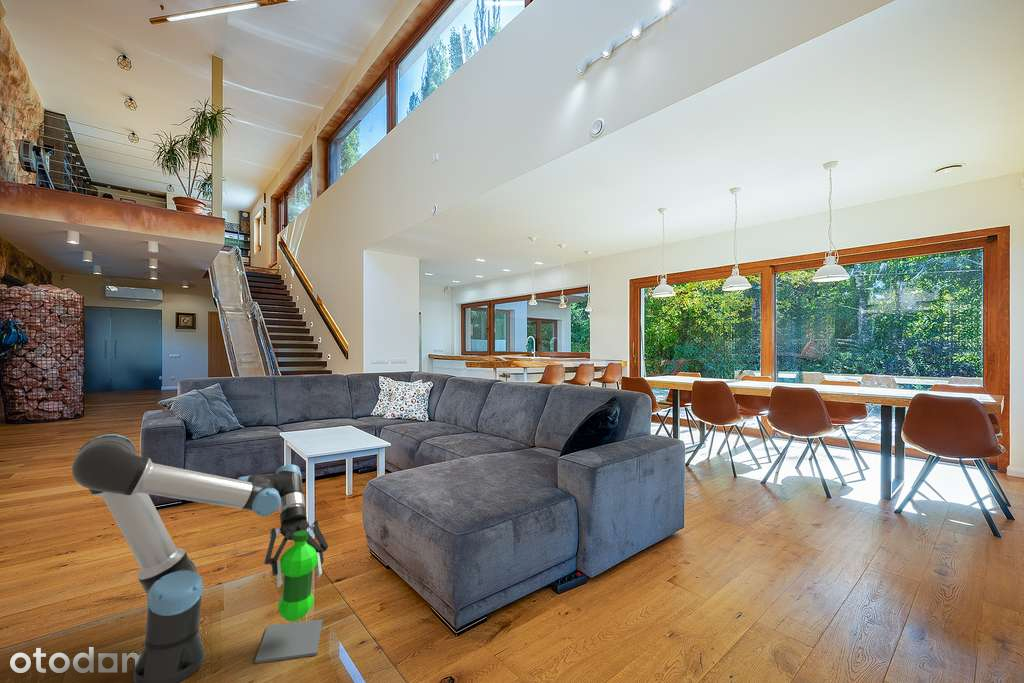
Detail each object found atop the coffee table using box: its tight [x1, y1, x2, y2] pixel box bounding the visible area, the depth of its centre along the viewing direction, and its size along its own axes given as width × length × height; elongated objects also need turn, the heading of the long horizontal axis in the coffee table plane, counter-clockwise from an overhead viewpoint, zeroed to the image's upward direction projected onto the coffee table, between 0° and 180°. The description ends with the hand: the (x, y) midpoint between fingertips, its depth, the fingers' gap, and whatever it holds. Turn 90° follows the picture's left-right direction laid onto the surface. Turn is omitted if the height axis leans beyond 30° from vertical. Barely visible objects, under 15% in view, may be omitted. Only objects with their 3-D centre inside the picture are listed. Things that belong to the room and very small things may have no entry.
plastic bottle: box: [277, 530, 318, 622], centre depth 133 cm, size 10×10×25 cm
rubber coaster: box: [254, 618, 324, 664], centre depth 132 cm, size 16×16×1 cm
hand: (300, 580), depth 131 cm, fingers closed on plastic bottle, 10 cm apart
